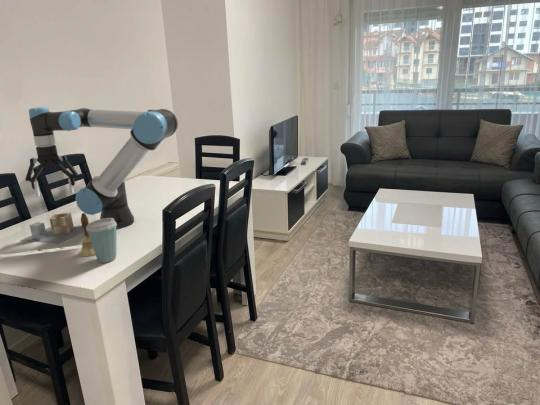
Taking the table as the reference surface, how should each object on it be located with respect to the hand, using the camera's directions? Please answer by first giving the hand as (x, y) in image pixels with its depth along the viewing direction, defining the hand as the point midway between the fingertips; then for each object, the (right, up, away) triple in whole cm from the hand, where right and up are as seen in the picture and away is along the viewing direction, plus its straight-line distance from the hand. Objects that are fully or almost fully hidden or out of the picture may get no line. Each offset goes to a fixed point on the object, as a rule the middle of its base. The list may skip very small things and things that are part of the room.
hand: (55, 194), depth 182 cm
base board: (0, -18, +2) cm, 19 cm away
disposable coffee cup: (+31, -25, -24) cm, 46 cm away
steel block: (-5, -20, -3) cm, 21 cm away
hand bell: (+22, -23, -17) cm, 36 cm away
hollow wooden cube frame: (+1, -16, +5) cm, 17 cm away
